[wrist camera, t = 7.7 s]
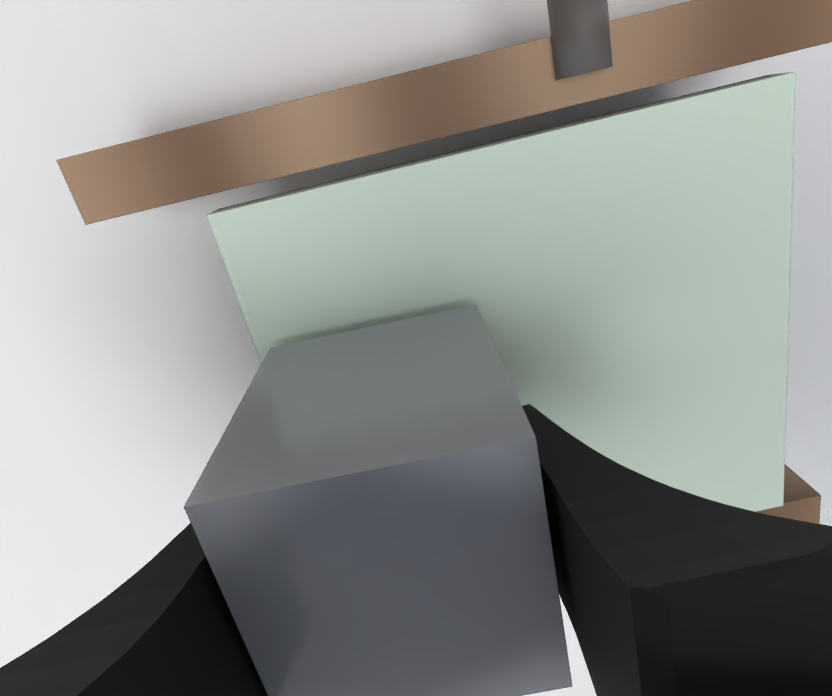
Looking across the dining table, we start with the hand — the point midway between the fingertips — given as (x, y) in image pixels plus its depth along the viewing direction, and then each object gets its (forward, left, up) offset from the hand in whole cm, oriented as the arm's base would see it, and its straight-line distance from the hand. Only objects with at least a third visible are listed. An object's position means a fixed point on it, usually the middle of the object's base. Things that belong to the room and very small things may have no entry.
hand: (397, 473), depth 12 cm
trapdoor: (-4, 0, -7) cm, 8 cm away
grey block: (0, 0, -2) cm, 2 cm away
